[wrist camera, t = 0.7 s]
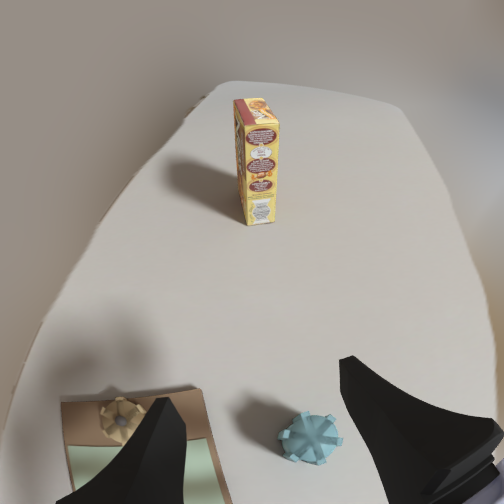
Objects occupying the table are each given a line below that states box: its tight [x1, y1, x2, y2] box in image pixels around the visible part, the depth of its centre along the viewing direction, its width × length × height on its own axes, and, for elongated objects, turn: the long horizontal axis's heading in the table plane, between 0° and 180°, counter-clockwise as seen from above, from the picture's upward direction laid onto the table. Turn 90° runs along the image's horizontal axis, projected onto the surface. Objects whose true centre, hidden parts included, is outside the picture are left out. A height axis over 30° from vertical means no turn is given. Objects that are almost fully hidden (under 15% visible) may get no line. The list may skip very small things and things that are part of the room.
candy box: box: [233, 98, 280, 226], centre depth 36 cm, size 9×4×15 cm, turn 11°
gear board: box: [61, 388, 233, 504], centre depth 18 cm, size 17×16×3 cm
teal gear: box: [278, 411, 343, 465], centre depth 20 cm, size 5×4×5 cm
